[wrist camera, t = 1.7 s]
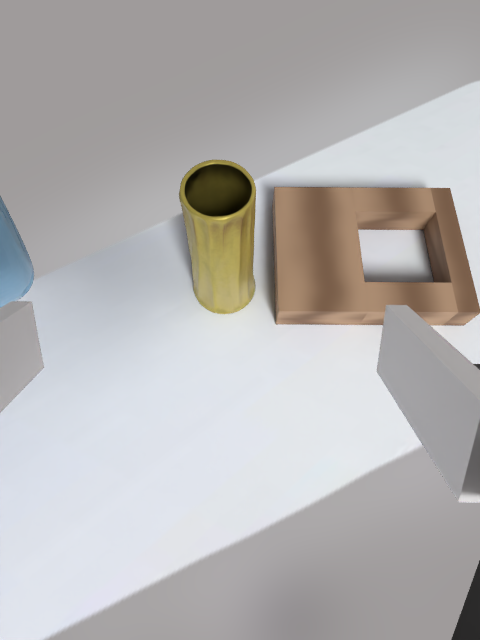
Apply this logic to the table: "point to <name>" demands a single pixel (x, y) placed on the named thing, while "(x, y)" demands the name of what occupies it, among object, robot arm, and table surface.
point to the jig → (346, 263)
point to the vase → (220, 233)
